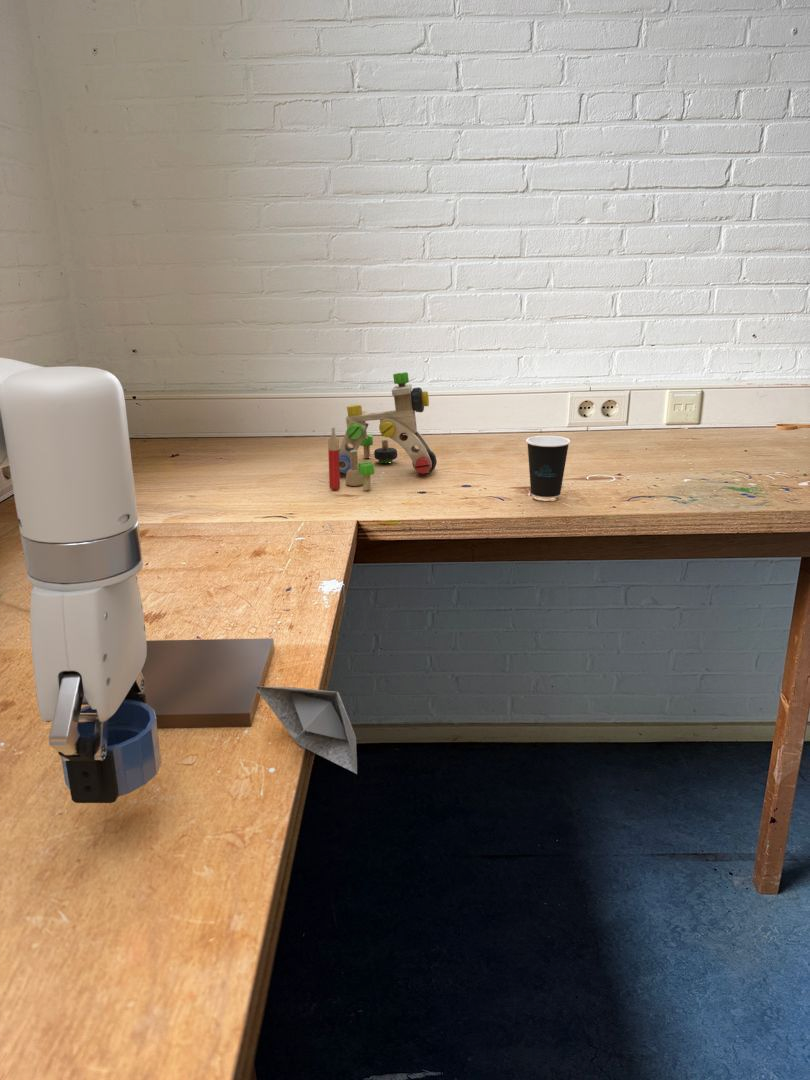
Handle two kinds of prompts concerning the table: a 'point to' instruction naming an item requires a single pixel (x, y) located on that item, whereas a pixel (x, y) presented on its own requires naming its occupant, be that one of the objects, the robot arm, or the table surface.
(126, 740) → the bowl
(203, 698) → the board
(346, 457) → the toy construction set
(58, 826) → the table surface
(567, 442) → the dixie cup
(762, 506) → the table surface
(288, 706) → the paper boat
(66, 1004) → the table surface
